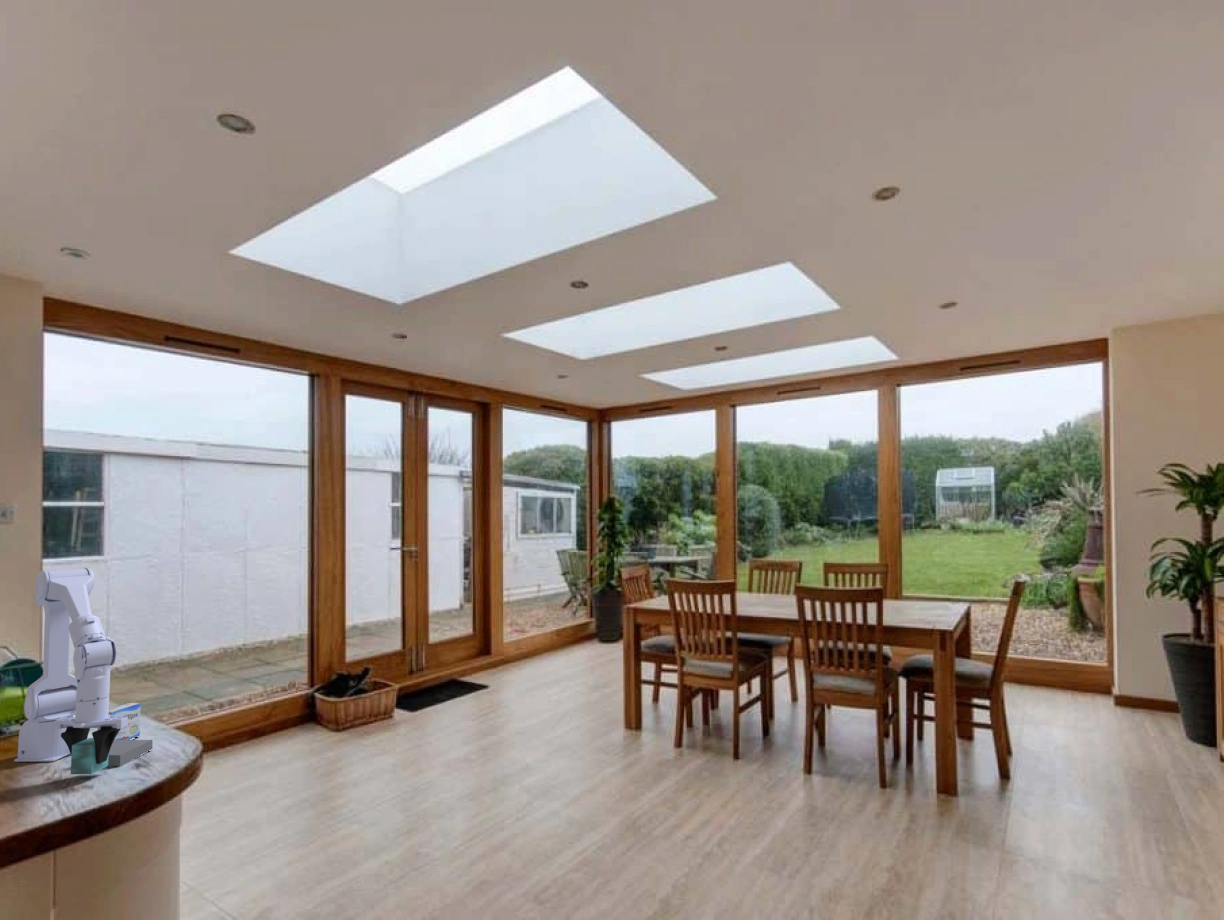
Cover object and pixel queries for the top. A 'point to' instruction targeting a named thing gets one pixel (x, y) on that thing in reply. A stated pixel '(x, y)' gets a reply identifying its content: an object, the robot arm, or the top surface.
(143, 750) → the charcoal base
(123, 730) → the medicine box
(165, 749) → the top surface
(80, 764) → the teal block
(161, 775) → the top surface
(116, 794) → the top surface
